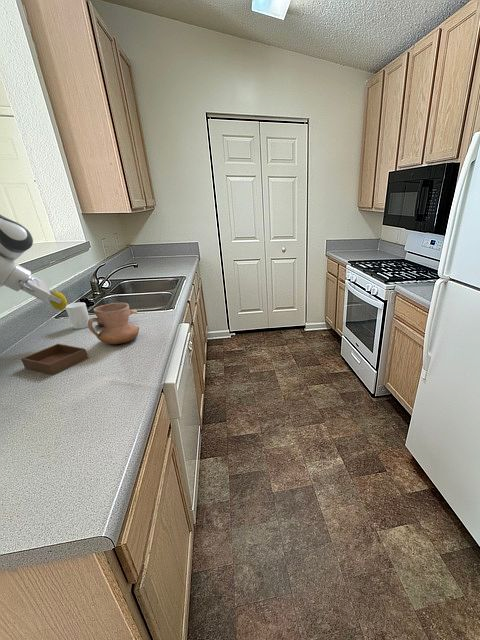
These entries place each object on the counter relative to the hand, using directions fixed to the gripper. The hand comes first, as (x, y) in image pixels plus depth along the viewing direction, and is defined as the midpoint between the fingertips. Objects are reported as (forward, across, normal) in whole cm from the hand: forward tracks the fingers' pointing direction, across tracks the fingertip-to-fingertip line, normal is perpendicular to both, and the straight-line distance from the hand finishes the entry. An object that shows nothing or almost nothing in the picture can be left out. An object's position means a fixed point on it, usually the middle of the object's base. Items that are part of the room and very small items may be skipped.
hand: (59, 299), depth 131 cm
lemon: (+3, 0, +4) cm, 5 cm away
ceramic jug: (+22, -16, +1) cm, 27 cm away
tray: (+6, -24, +17) cm, 30 cm away
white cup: (+15, +13, +8) cm, 21 cm away
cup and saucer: (+23, +7, 0) cm, 24 cm away
